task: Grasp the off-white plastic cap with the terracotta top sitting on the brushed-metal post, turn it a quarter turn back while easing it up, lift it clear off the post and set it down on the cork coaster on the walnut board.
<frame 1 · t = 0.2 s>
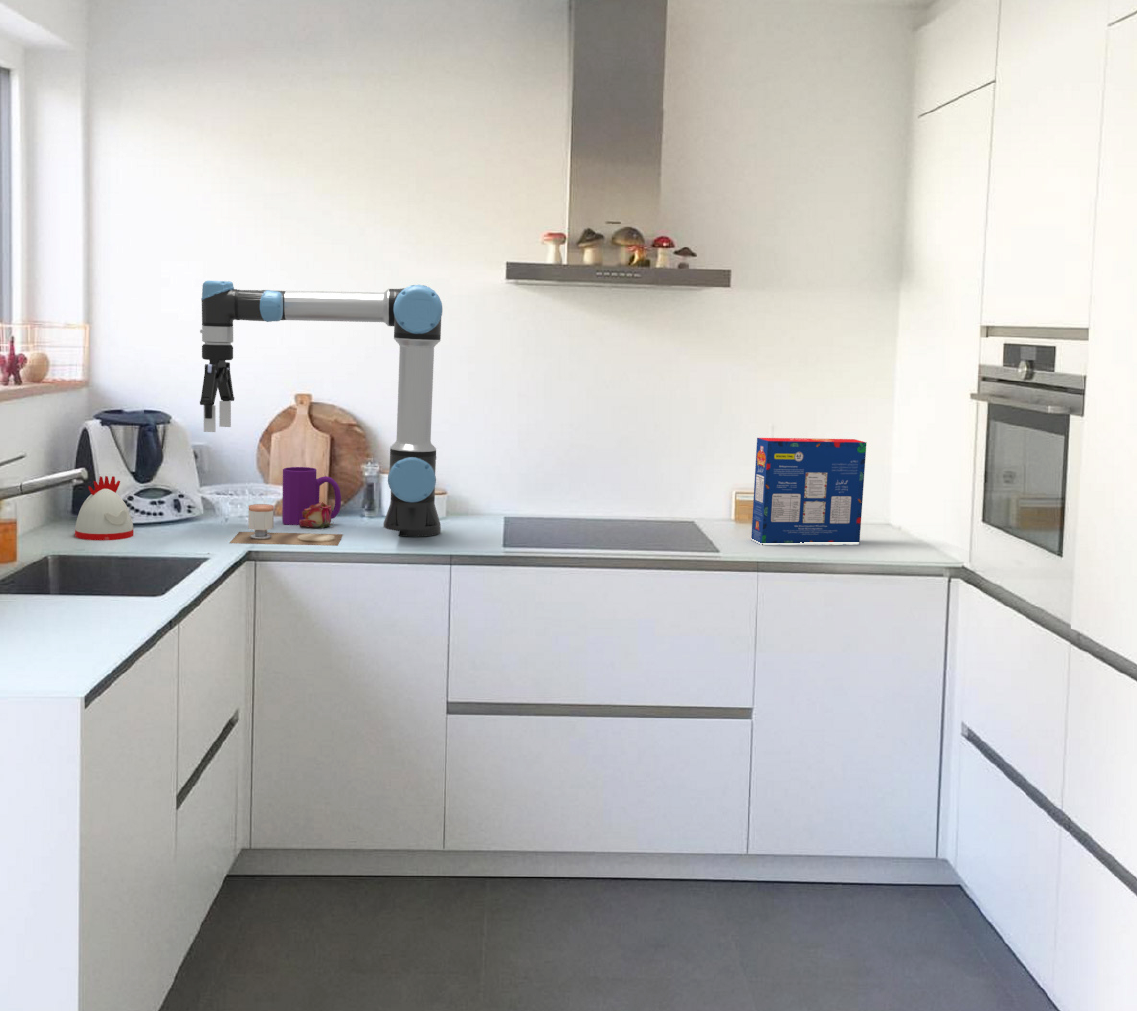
hand: (217, 429, 349), 27 cm above the worktop, fingers open, 13 cm apart
board: (287, 544, 347), on the worktop
post: (260, 537, 346), resting on board
kitchen timer: (104, 536, 350), on the worktop
flower: (315, 532, 366), on the worktop
cap: (261, 527, 346), point 4 cm above the worktop, touching post
coaster: (316, 539, 347), resting on board
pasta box: (805, 543, 378), on the worktop
mug: (311, 525, 378), on the worktop
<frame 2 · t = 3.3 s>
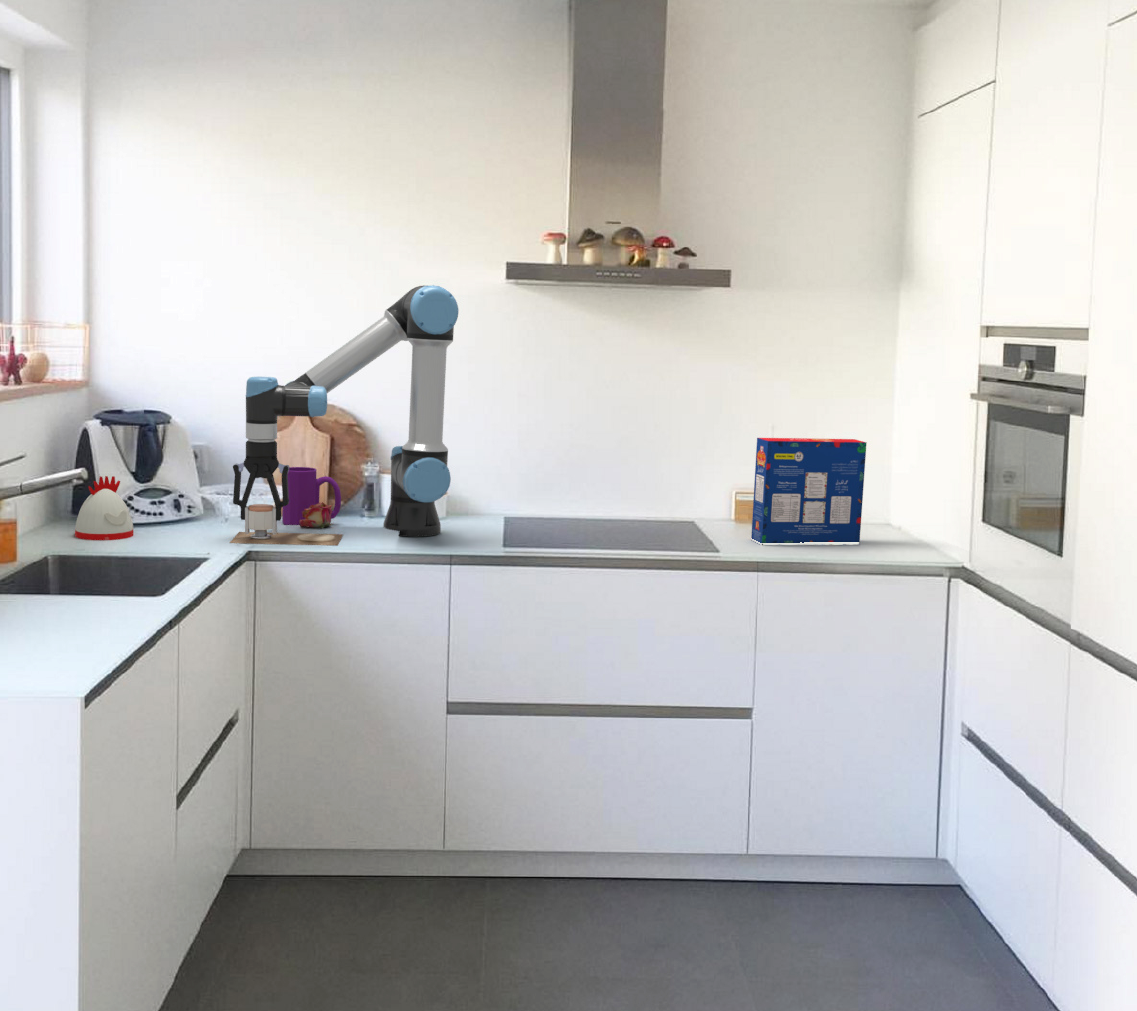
hand: (261, 533, 346), 3 cm above the worktop, fingers closed on cap, 6 cm apart
cap: (261, 527, 346), point 4 cm above the worktop, touching gripper, post
everything else where it was.
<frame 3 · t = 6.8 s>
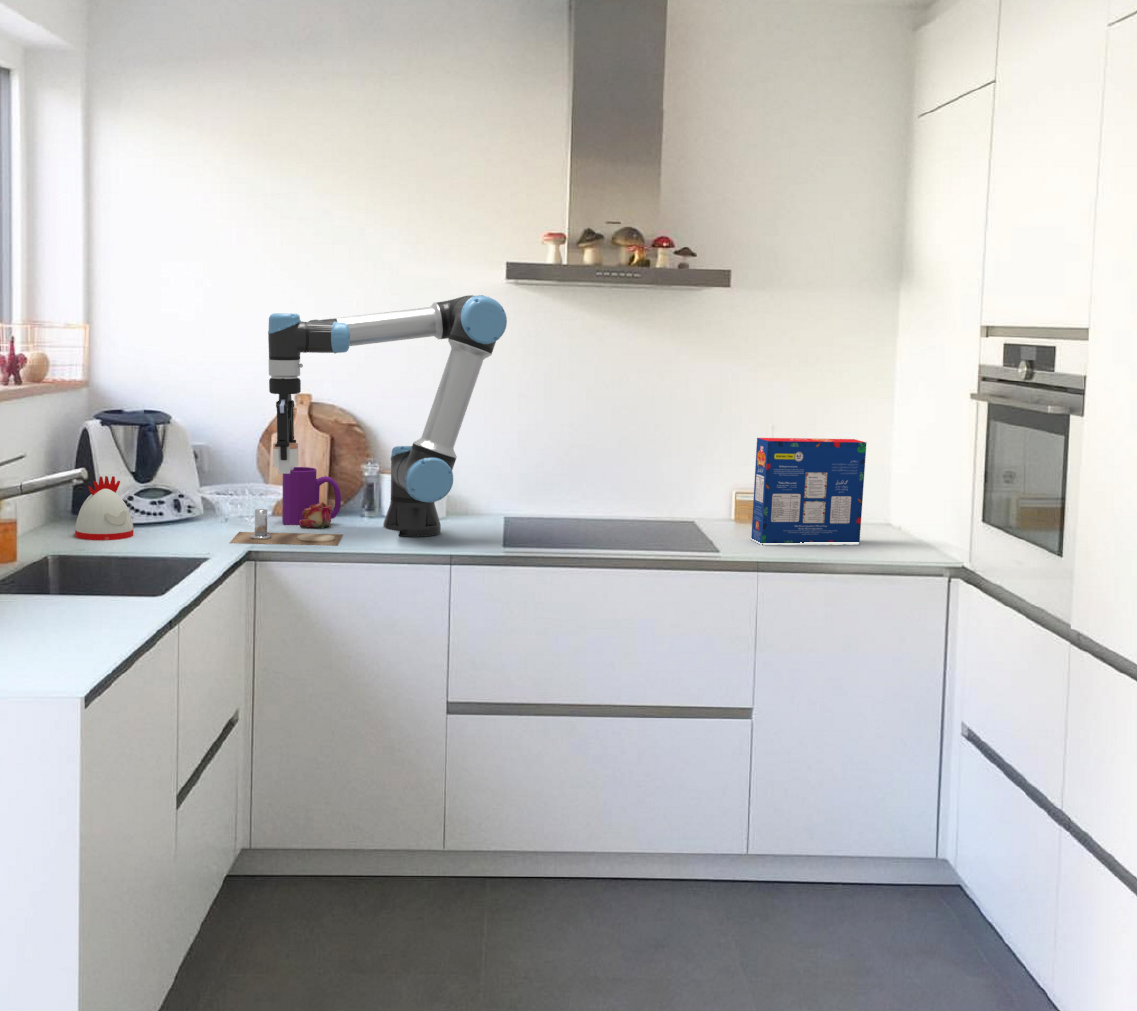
hand: (286, 471, 344), 18 cm above the worktop, fingers closed on cap, 6 cm apart
cap: (285, 466, 344), point 20 cm above the worktop, touching gripper
everything else where it was.
when the fingers open (4 cm above the worktop, at t = 10.5 s): cap drops 3 cm, resting on coaster.
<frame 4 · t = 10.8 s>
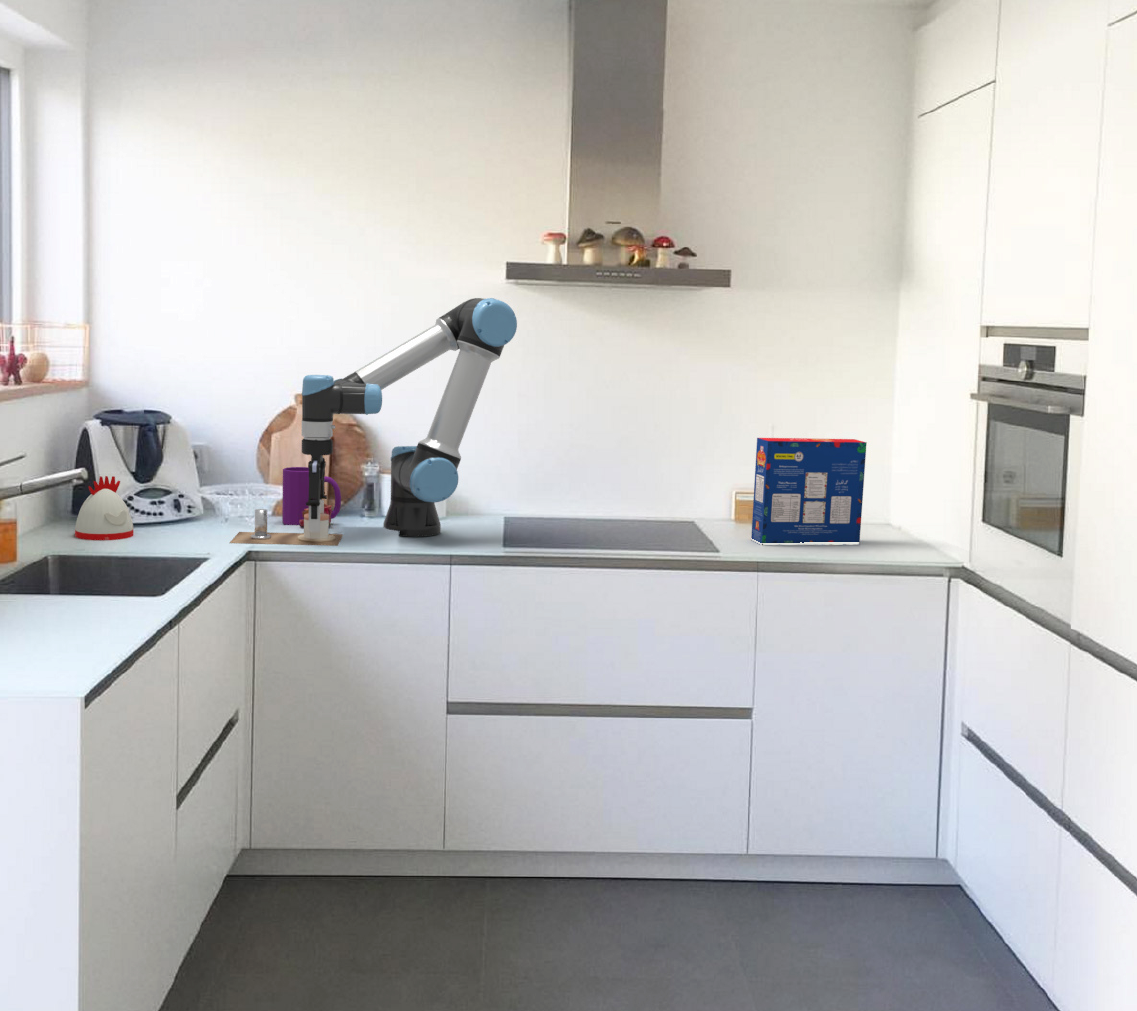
hand: (316, 528, 347), 4 cm above the worktop, fingers open, 9 cm apart
cap: (316, 536, 347), point 2 cm above the worktop, touching coaster
everything else where it was.
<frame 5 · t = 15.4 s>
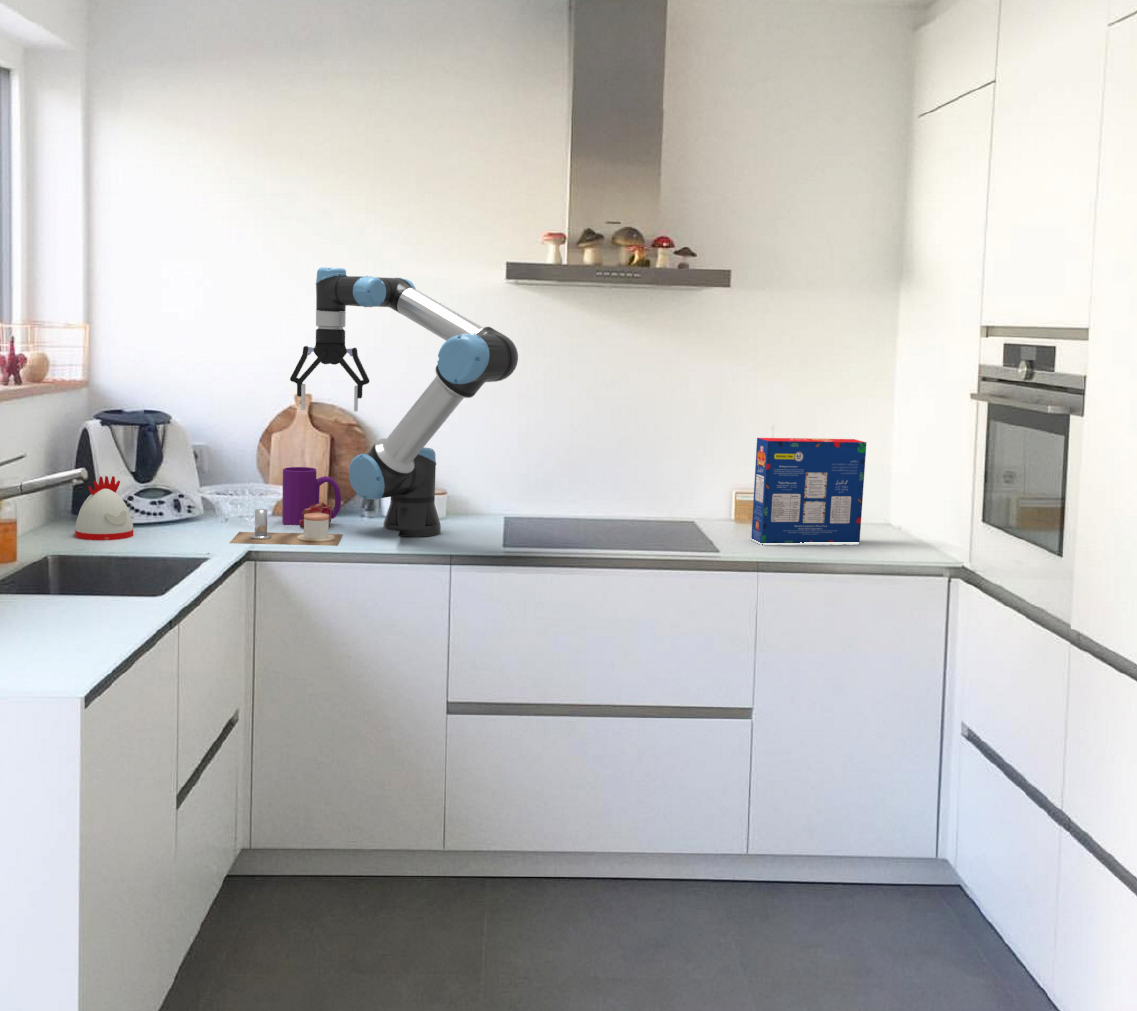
hand: (329, 410, 364), 32 cm above the worktop, fingers open, 13 cm apart
nothing on the worktop moved.
at the end: cap 0.0 cm from the target spot, point 2.1 cm above the worktop; cap tilted 0°; the gripper is holding nothing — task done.
